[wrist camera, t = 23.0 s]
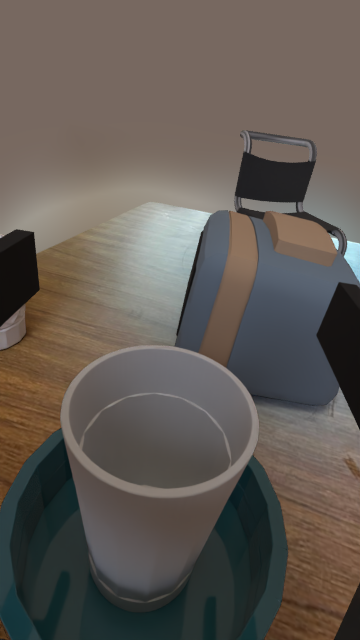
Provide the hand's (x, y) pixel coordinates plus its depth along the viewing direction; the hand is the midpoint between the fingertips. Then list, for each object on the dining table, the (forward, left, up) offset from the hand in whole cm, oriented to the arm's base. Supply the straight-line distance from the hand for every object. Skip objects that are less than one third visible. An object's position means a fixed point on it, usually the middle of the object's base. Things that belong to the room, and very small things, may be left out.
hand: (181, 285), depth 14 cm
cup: (0, -3, -16) cm, 16 cm away
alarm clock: (+8, +19, -17) cm, 26 cm away
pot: (0, -3, -16) cm, 17 cm away
